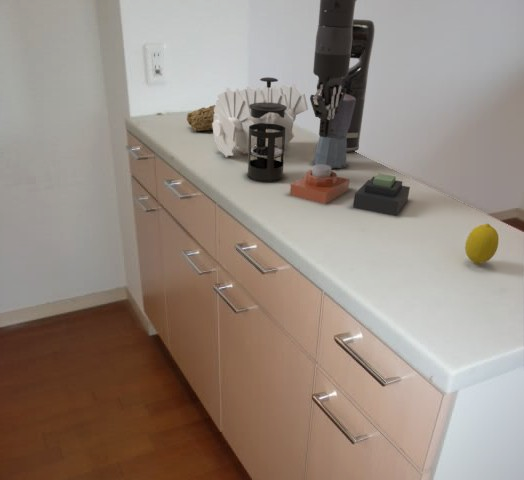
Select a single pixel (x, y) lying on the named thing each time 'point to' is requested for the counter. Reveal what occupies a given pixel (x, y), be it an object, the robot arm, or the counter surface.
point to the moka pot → (336, 137)
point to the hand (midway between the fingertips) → (324, 136)
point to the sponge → (201, 118)
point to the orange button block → (319, 187)
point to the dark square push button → (381, 198)
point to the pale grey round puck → (321, 171)
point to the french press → (268, 167)
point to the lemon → (481, 243)
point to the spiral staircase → (239, 117)
